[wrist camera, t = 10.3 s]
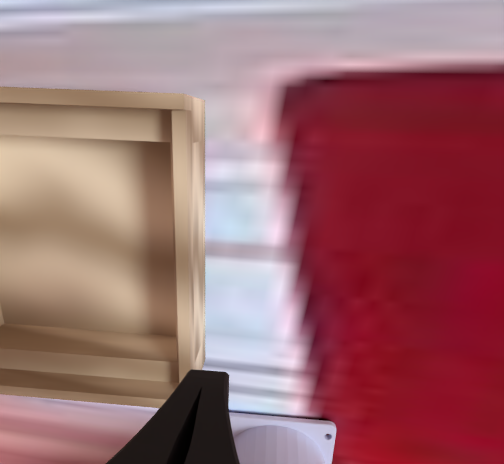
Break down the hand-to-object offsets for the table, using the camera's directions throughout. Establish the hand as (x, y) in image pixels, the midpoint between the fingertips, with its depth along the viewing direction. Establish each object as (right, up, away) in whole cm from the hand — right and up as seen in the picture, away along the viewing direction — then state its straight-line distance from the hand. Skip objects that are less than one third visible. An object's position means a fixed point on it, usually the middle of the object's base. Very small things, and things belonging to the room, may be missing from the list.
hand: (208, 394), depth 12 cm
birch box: (-8, +5, +9) cm, 13 cm away
